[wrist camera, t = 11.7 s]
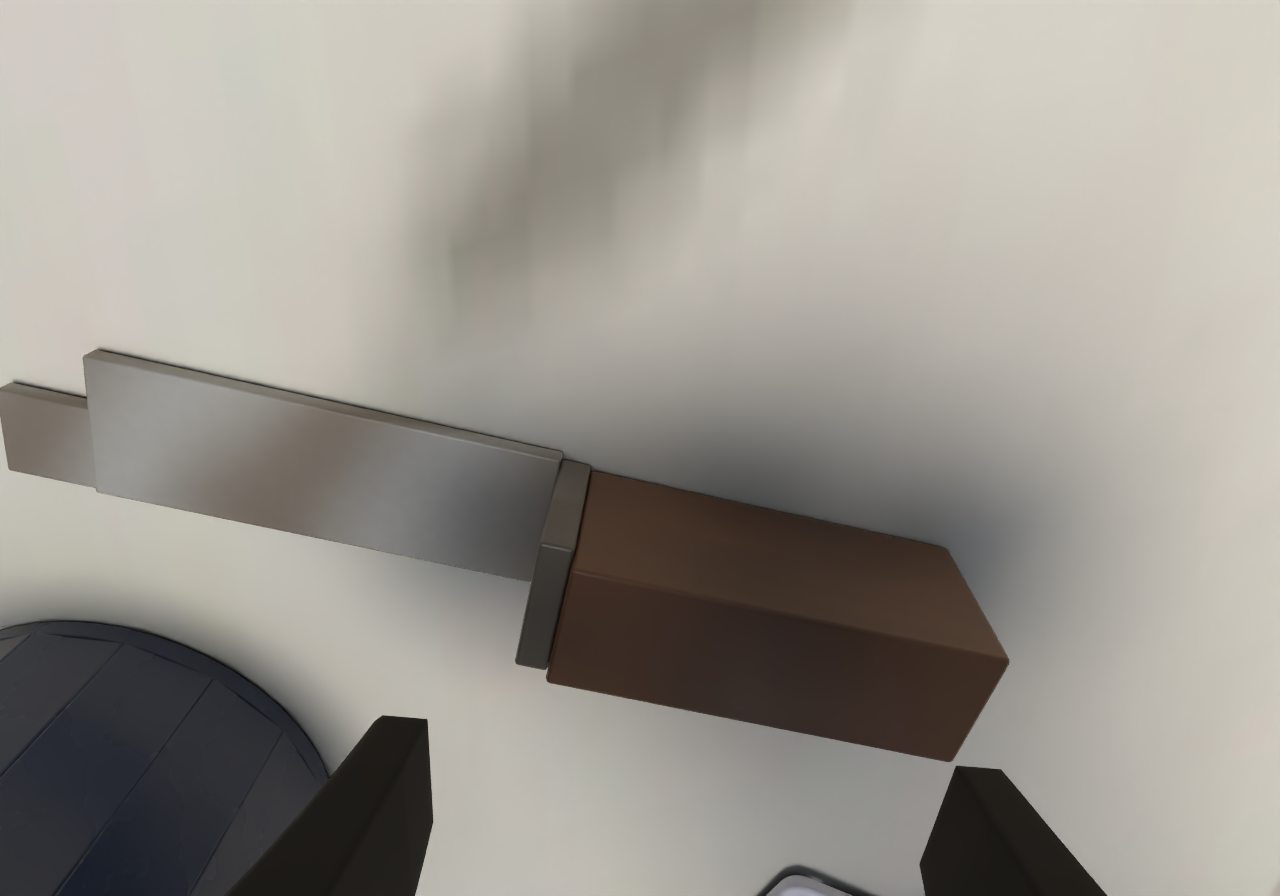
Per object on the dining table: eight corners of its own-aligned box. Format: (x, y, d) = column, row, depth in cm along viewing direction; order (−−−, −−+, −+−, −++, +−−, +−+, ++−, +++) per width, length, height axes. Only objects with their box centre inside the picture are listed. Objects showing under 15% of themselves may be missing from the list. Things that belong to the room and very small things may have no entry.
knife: (953, 537, 16) (1019, 650, 13) (898, 648, 17) (947, 774, 14) (3, 328, 15) (-174, 399, 12) (22, 465, 16) (-130, 561, 13)
